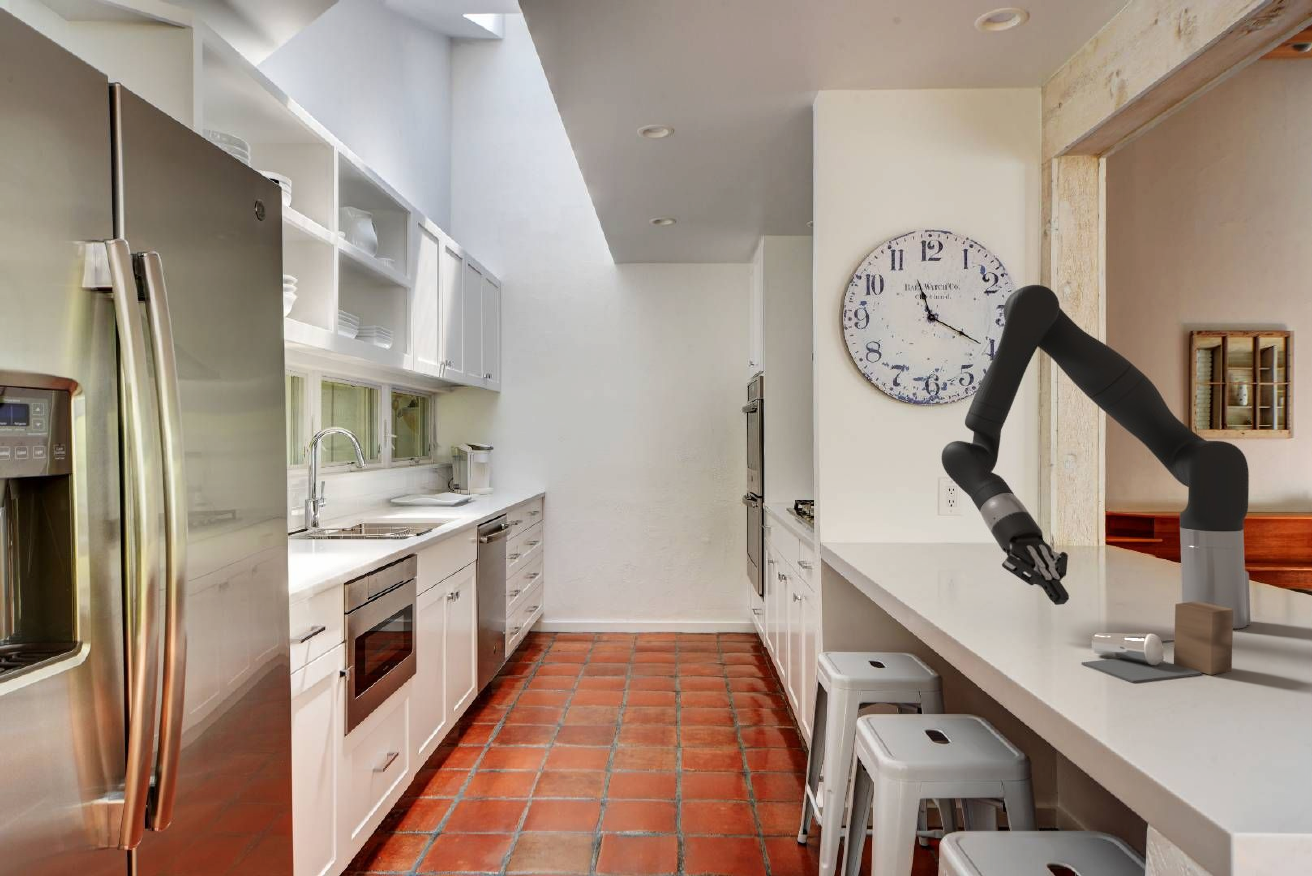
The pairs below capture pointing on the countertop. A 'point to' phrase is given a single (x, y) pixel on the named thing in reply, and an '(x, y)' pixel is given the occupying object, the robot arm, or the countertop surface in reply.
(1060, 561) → the robot arm
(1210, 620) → the walnut block
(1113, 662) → the mat
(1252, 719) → the countertop surface
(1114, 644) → the milkshake
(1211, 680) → the countertop surface
